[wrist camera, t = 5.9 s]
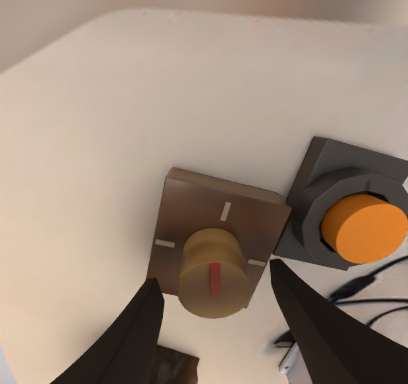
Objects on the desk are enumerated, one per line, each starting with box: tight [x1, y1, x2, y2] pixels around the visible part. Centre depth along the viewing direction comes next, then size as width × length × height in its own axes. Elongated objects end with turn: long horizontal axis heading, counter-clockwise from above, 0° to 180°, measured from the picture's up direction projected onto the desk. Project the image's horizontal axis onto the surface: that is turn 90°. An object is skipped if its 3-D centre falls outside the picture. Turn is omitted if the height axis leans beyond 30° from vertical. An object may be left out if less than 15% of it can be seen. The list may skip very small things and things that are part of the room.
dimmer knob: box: [177, 228, 252, 319], centre depth 13 cm, size 4×4×4 cm
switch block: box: [272, 137, 408, 271], centre depth 15 cm, size 10×7×4 cm
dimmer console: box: [146, 167, 292, 308], centre depth 16 cm, size 10×9×3 cm
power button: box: [321, 194, 408, 264], centre depth 13 cm, size 4×4×2 cm
